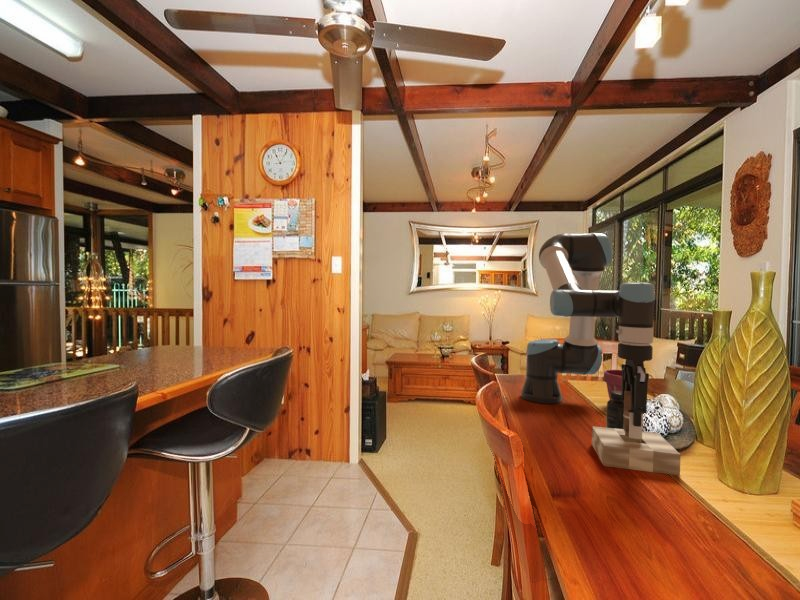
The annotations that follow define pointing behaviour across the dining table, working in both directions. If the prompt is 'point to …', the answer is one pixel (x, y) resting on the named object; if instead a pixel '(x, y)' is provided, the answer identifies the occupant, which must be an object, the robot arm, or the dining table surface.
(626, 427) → the peg
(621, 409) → the supplement bottle
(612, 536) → the dining table surface
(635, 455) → the seat board
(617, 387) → the plant pot
